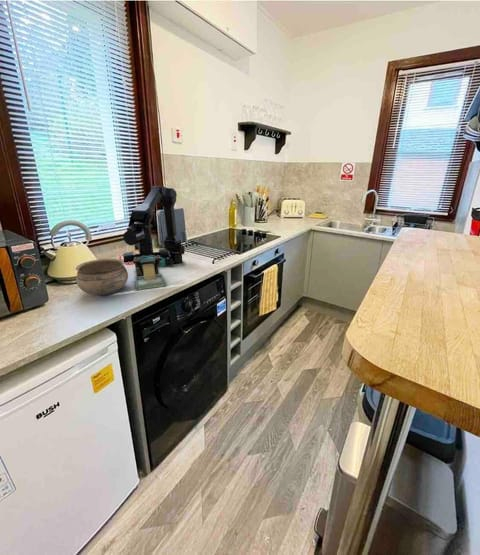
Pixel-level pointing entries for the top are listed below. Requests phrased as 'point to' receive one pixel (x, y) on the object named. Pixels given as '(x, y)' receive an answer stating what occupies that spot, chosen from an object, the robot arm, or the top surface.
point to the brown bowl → (101, 276)
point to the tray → (150, 284)
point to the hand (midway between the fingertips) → (149, 273)
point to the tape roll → (148, 272)
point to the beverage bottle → (161, 263)
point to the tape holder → (142, 268)
